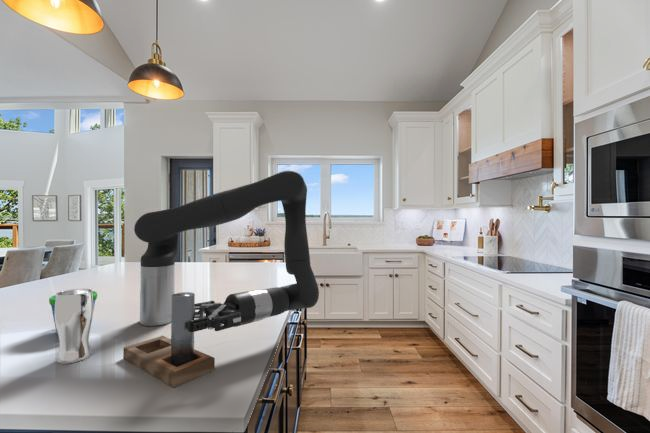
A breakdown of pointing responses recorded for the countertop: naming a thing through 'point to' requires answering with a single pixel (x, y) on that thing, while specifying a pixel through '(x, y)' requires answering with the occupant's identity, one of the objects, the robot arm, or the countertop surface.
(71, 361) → the beer glass
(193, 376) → the wooden peg holder
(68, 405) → the countertop surface
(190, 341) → the metal peg
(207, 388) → the countertop surface
